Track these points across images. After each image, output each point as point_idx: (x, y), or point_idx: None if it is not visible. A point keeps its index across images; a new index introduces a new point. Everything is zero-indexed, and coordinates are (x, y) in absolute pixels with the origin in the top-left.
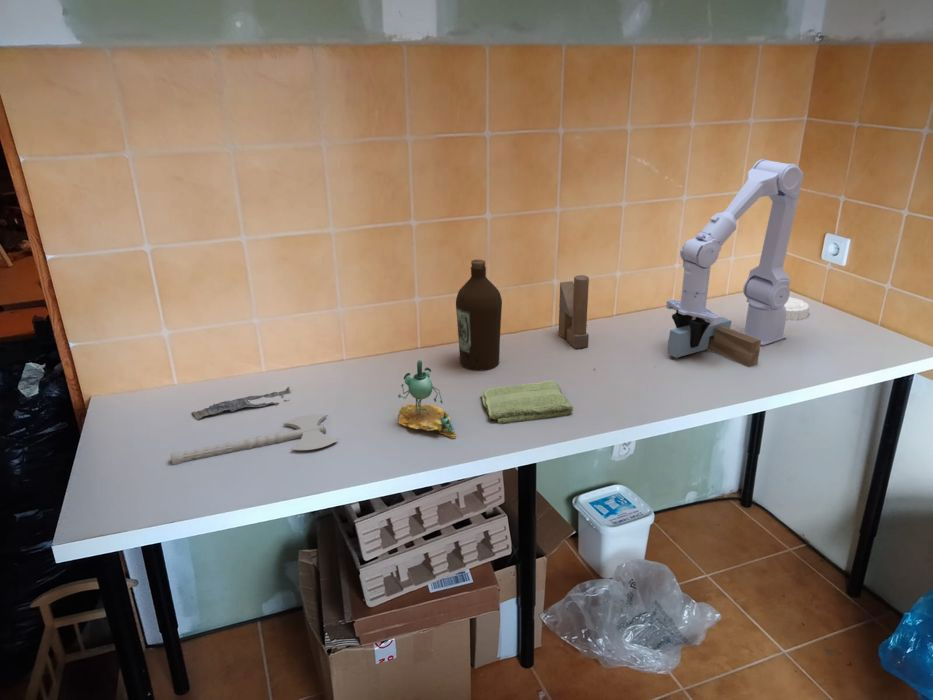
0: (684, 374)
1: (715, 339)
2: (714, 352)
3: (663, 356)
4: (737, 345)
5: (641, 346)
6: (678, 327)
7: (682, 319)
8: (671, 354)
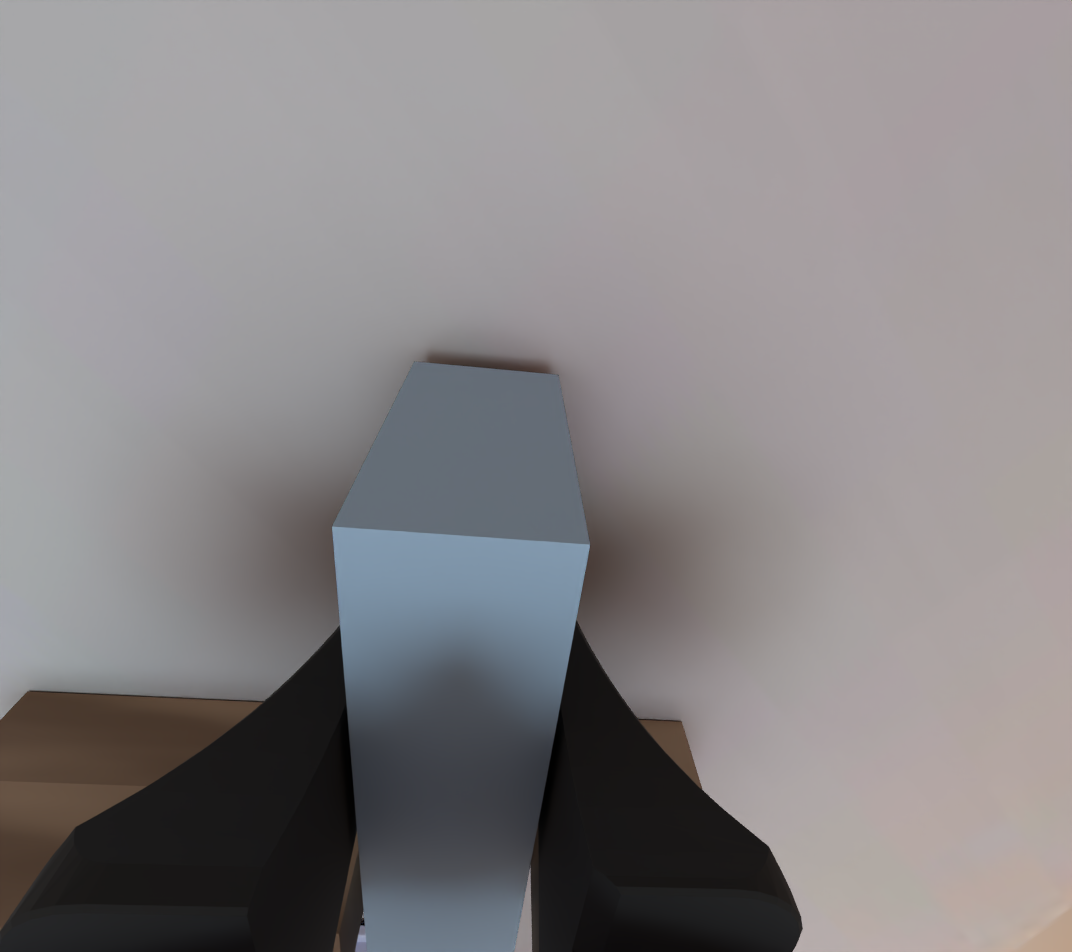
0: (91, 113)
1: None
2: None
3: (590, 352)
4: (70, 832)
5: (900, 383)
6: (591, 723)
7: (568, 893)
8: (493, 372)
